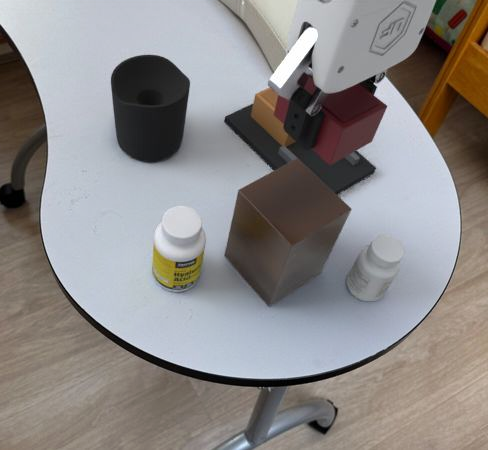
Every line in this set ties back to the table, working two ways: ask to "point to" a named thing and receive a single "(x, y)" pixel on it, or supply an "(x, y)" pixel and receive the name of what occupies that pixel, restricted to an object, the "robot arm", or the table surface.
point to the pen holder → (149, 106)
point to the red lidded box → (342, 120)
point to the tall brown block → (284, 230)
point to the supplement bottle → (178, 249)
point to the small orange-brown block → (269, 116)
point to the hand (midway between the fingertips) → (323, 124)
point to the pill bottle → (375, 268)
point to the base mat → (298, 154)
